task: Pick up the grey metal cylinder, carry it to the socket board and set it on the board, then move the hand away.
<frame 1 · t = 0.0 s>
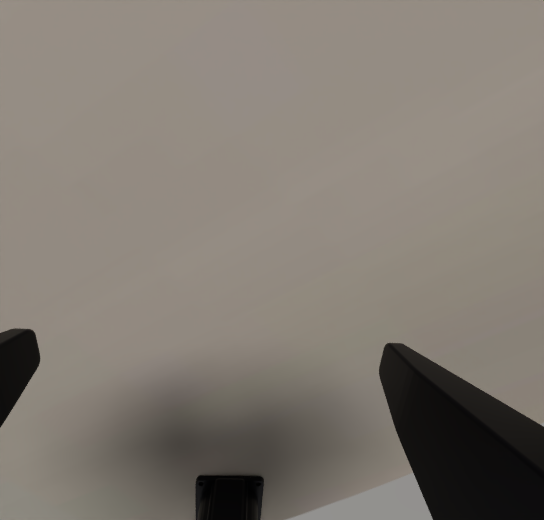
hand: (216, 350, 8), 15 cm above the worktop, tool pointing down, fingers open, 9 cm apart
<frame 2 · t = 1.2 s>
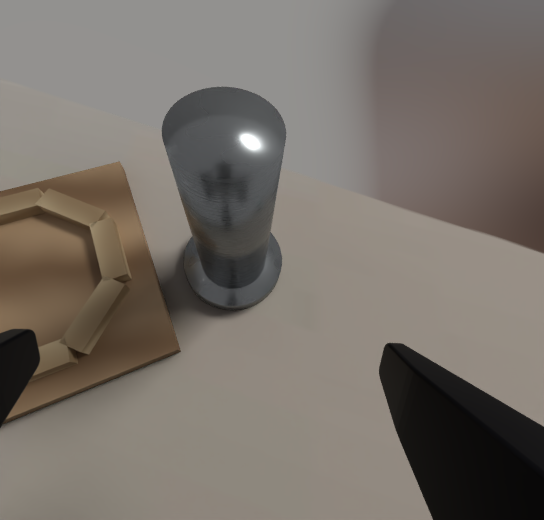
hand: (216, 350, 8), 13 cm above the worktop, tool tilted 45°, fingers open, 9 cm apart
socket board: (32, 287, 22), on the worktop
grey metal cylinder: (233, 264, 24), on the worktop
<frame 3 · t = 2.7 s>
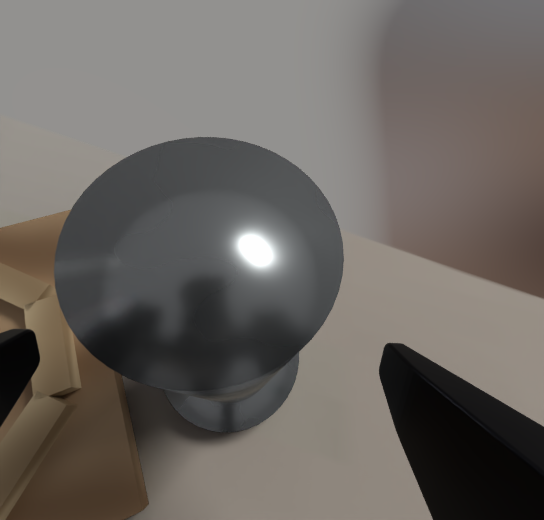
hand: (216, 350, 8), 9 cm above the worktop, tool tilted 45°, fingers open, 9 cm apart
grey metal cylinder: (231, 356, 17), on the worktop
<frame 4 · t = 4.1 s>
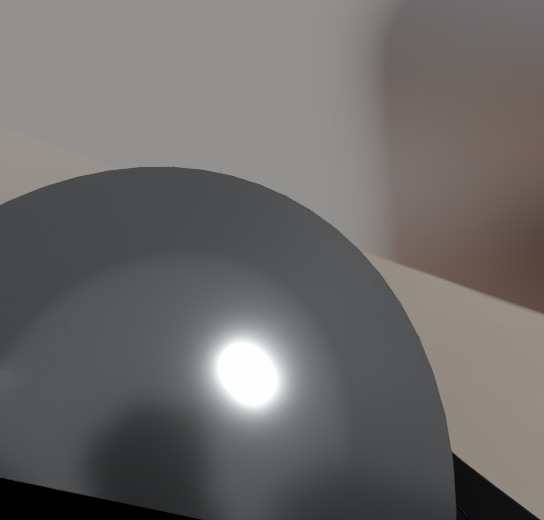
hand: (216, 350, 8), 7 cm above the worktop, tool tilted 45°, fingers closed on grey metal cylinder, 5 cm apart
grey metal cylinder: (225, 407, 14), on the worktop, touching gripper
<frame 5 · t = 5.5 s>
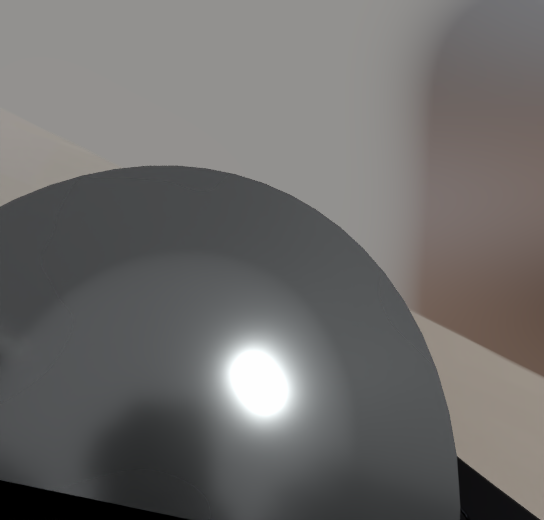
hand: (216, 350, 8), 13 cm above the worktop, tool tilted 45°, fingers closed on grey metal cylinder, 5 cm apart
grey metal cylinder: (226, 406, 14), point 6 cm above the worktop, touching gripper
when the fingers open (9 cm above the worktop, at t = 7.1 s): grey metal cylinder drops 1 cm, resting on socket board.
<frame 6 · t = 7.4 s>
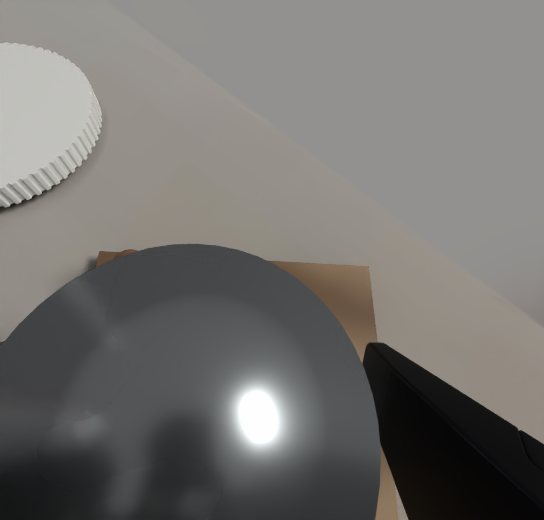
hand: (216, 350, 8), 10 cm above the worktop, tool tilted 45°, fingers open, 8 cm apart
socket board: (227, 406, 16), on the worktop
plastic lid: (6, 141, 23), on the worktop
grey metal cylinder: (226, 409, 15), point 1 cm above the worktop, touching socket board
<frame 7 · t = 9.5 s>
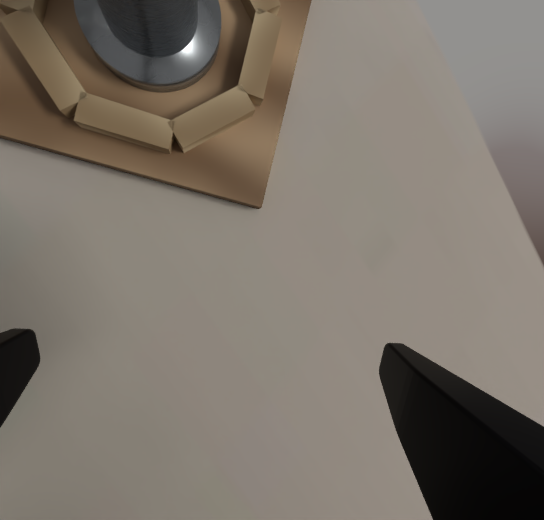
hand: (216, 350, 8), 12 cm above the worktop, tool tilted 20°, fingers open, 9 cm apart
socket board: (157, 35, 18), on the worktop
grey metal cylinder: (154, 25, 17), point 1 cm above the worktop, touching socket board
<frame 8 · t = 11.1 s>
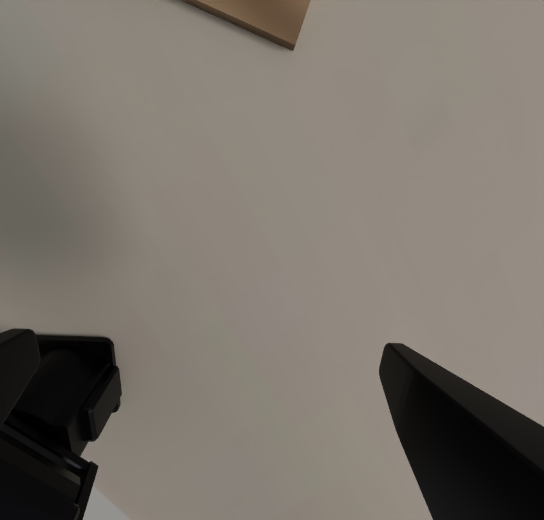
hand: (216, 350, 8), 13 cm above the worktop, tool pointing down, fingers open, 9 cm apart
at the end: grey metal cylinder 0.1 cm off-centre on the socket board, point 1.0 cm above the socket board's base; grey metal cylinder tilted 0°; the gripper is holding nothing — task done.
